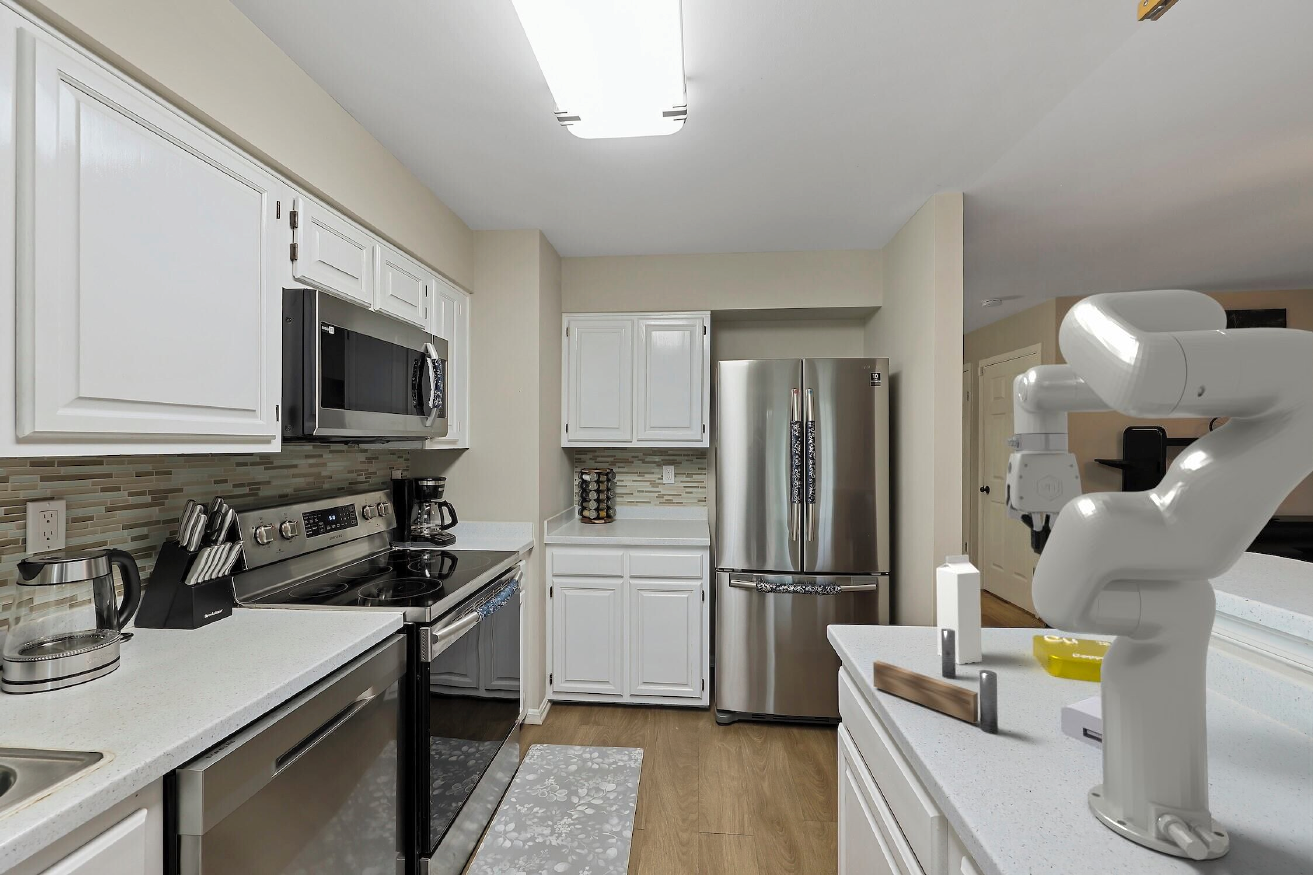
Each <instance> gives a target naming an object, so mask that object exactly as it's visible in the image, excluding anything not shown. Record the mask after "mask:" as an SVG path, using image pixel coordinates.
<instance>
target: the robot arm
mask: <svg viewBox="0 0 1313 875" xmlns="http://www.w3.org/2000/svg"><path fill="white" fill-rule="evenodd" d="M1227 321H1228V320H1227V314H1226V311H1225V309H1224V307H1223V306H1222V305H1221V304H1220V303H1219V302H1218V301H1217V300H1216V299H1215V298H1212V297H1211V296H1210V295H1208V294H1205V293H1201V292H1199V291H1195V290H1189V289H1155V290H1140V291H1139V290H1138V291H1124V292H1123V291H1122V292H1104V293H1097V294H1093V295H1090V296H1089V295H1088V296H1087V297H1085V298H1082V299H1081V300H1079V301H1078V302H1076V303H1075V304H1073V306H1071V307H1070V309H1069V310H1068V312H1066V314H1065V315H1064V318H1063V319H1062V322H1061V325H1060V327H1059V332H1058V345H1059V350H1060V352H1061V355H1062V357H1063V359H1064V361H1065V362H1066V363H1065V364H1064V363H1062V364H1042V365H1040V364H1039V365H1036V366H1033V367H1030V368H1028V369H1027V370H1026V372H1025V373H1020V374H1019V375H1017V376H1016V377H1015V378H1014V380H1013V385H1012V386H1013V388H1012V390H1013V392H1012V393H1013V426H1014V429H1013V430H1014V431H1013V432H1014V434H1013V435H1012V437H1011V438H1006V439H1005V441H1004V443H1005V446H1006V447H1011V448H1012V450H1013V451H1014V453H1013V452H1012V453H1010V455H1009V458H1008V459H1009V460H1008V464H1007V465H1008V466H1007V471H1006V481H1005V504H1006V506H1007V508H1006V511H1005V515H1006V517H1007V518H1011V519H1014V520H1019V521H1021V522H1022V523H1023V524H1024V525H1025V526H1027V528H1028V529H1030V547H1031V549H1032V550H1033V553H1034V554H1037V555H1040V557H1039V560H1038V562H1037V564H1036V567H1035V569H1034V573H1033V576H1032V581H1031V598H1032V604H1033V607H1034V609H1035V611H1036V612H1037V615H1038V616H1039V617H1040V619H1041V620H1042V621H1043V622H1044V623H1046V624H1047V625H1048V626H1049V627H1051V628H1053V629H1055V630H1058V631H1059V632H1064V633H1069V634H1071V633H1072V634H1080V635H1093V636H1094V635H1095V636H1097V635H1098V636H1115V638H1114V639H1113V641H1112V642H1111V645H1110V646H1109V648H1108V649H1107V651H1106V653H1105V655H1104V657H1103V660H1102V664H1101V683H1100V697H1101V718H1102V750H1101V752H1102V753H1101V755H1102V783H1101V784H1097V785H1094V786H1093V787H1091V788H1090V789H1089V790H1088V792H1087V803H1088V807H1089V809H1090V811H1091V812H1092V814H1093V815H1094V816H1095V817H1097V819H1098V820H1099V821H1101V823H1103V824H1104V825H1106V826H1107V827H1108V828H1109V829H1111V830H1113V831H1114V832H1116V833H1118V834H1119V835H1120V836H1123V837H1125V838H1126V839H1129V840H1130V841H1132V842H1135V843H1137V844H1140V845H1141V846H1144V847H1146V848H1150V849H1152V850H1155V851H1158V852H1161V853H1163V854H1164V853H1165V854H1168V855H1171V856H1176V857H1180V858H1186V859H1193V860H1197V861H1200V860H1213V859H1218V858H1220V857H1221V858H1222V857H1223V856H1225V855H1227V853H1228V852H1229V851H1230V838H1229V833H1228V832H1227V831H1226V829H1225V827H1224V826H1222V825H1221V824H1220V822H1218V821H1217V820H1216V819H1214V817H1212V812H1211V811H1210V807H1209V801H1210V800H1209V771H1208V770H1209V768H1208V738H1207V737H1208V734H1207V733H1208V732H1207V679H1206V678H1207V660H1208V659H1207V658H1208V651H1209V650H1208V649H1209V644H1210V639H1211V636H1212V635H1211V634H1212V631H1213V628H1214V623H1215V619H1216V613H1217V600H1216V593H1215V591H1214V589H1213V588H1214V587H1213V585H1212V584H1211V583H1210V581H1209V580H1213V579H1215V578H1218V577H1221V576H1223V575H1224V574H1225V573H1227V572H1229V570H1231V569H1232V568H1233V566H1235V564H1237V562H1238V561H1239V560H1240V559H1241V557H1243V555H1244V553H1245V552H1246V550H1247V549H1248V548H1249V547H1250V546H1251V544H1252V543H1253V542H1254V540H1256V537H1257V536H1258V535H1259V534H1260V532H1261V531H1262V530H1263V529H1264V527H1265V526H1266V525H1267V524H1268V522H1269V520H1271V518H1272V517H1273V516H1274V514H1275V513H1276V512H1277V510H1278V508H1279V507H1280V505H1281V504H1282V503H1283V502H1284V500H1286V498H1287V497H1288V495H1289V494H1291V493H1292V491H1293V490H1295V488H1296V487H1297V486H1298V485H1300V483H1301V482H1302V481H1304V479H1306V478H1307V477H1308V476H1309V475H1311V473H1312V472H1313V331H1310V330H1304V329H1297V328H1287V327H1285V328H1283V327H1249V328H1248V327H1246V328H1245V327H1244V328H1227ZM1112 411H1115V412H1117V413H1119V414H1122V415H1124V416H1128V417H1131V418H1139V419H1190V418H1191V419H1193V418H1195V419H1196V418H1197V419H1198V418H1200V419H1201V418H1203V419H1204V418H1229V420H1228V421H1226V422H1225V423H1223V424H1222V425H1221V426H1219V427H1217V428H1215V429H1214V430H1211V431H1210V432H1208V433H1206V434H1205V435H1203V436H1201V437H1199V438H1198V439H1197V440H1195V441H1193V442H1192V443H1191V444H1190V445H1188V446H1187V447H1186V448H1185V449H1183V451H1181V452H1180V453H1179V454H1178V455H1177V456H1176V457H1175V458H1174V459H1173V461H1172V463H1171V464H1170V466H1169V468H1168V469H1167V472H1166V474H1165V475H1164V476H1163V478H1162V479H1161V481H1160V482H1159V484H1158V485H1156V487H1155V488H1152V489H1147V490H1144V491H1143V490H1142V491H1099V492H1089V493H1085V494H1084V493H1083V492H1082V484H1081V476H1080V471H1079V466H1078V462H1077V459H1076V458H1077V457H1076V455H1075V453H1073V452H1071V453H1069V434H1068V433H1069V432H1068V429H1069V428H1068V427H1069V426H1068V413H1083V412H1085V413H1087V412H1089V413H1091V412H1092V413H1093V412H1094V413H1096V412H1097V413H1099V412H1100V413H1101V412H1103V413H1104V412H1105V413H1106V412H1112ZM1040 514H1043V520H1041V515H1040Z"/></svg>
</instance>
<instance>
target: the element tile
mask: <svg viewBox="0 0 1313 875" xmlns="http://www.w3.org/2000/svg"><path fill="white" fill-rule="evenodd" d="M1111 643H1112V642H1110V641H1105V640H1095V639H1083V638H1076V637H1075V638H1074V637H1073V638H1072V637H1063V636H1056V635H1051V634H1049V635H1047V634H1046V635H1041V634H1035V635H1033V637H1032V654H1033V655H1032V656H1034V658H1035V659H1036V661H1038V662H1040V663H1041V664H1040V663H1039V664H1040V666H1042V668H1043V669H1044V670H1045V672H1046V673H1047V674H1048V673H1049V674H1048V675H1050V676H1053V677H1055V678H1059V679H1066V680H1076V681H1083V682H1084V681H1085V682H1093V683H1100V684H1101V664H1102V660H1103V657H1104V655H1105V653H1106V651H1107V649H1108V648H1109V646H1110V645H1111Z"/></svg>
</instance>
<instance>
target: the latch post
mask: <svg viewBox="0 0 1313 875" xmlns="http://www.w3.org/2000/svg"><path fill="white" fill-rule="evenodd" d="M941 637H942V657H941V675H942V677H943V678H945V677H946V678H945V679H951V680H954V679H956V678H957V675H956V674H957V673H956V671H957V669H956V668H957V667H956V666H957V664H956V658H955V631H954V630H952V629H941Z"/></svg>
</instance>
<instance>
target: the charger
mask: <svg viewBox="0 0 1313 875" xmlns="http://www.w3.org/2000/svg"><path fill="white" fill-rule="evenodd" d="M1060 720H1061V721H1060V722H1061V723H1060V725H1061V727H1060V728H1061V732H1062V734H1064V735H1065V736H1067V737H1070V738H1072V739H1074V740H1077V741H1079V742H1082V743H1085V744H1086V745H1089V746H1091V747H1094V748H1097V749H1099V750H1101V751H1102V718H1101V696H1098V695H1096V696H1091V697H1089V698H1085V699H1084V700H1080V701H1077V702H1075V703H1072V704H1068V705H1066V706H1063V707H1061V709H1060Z"/></svg>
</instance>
